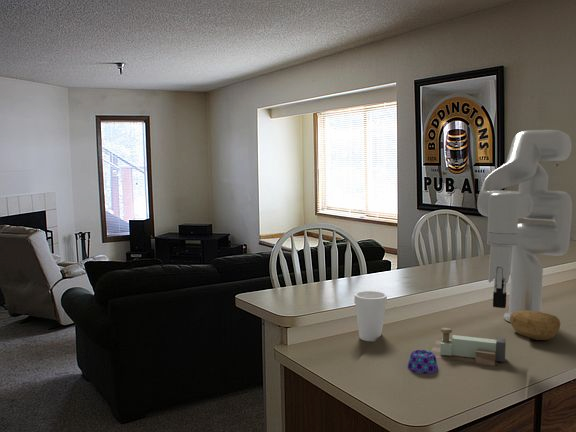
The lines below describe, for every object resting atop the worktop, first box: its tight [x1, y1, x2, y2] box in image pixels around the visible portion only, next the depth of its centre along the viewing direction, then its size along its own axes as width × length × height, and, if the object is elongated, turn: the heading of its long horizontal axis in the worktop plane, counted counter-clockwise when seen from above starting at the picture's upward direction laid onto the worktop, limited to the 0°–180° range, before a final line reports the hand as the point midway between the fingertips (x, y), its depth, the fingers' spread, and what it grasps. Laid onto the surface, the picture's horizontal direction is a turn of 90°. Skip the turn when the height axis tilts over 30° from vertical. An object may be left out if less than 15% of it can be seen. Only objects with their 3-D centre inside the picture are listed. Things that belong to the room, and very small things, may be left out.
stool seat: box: [430, 327, 499, 367], centre depth 151 cm, size 16×17×8 cm
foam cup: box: [354, 290, 388, 342], centre depth 166 cm, size 10×9×13 cm
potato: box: [509, 310, 561, 341], centre depth 164 cm, size 10×14×8 cm
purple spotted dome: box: [407, 349, 439, 375], centre depth 140 cm, size 12×12×5 cm
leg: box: [440, 334, 507, 363], centre depth 147 cm, size 16×4×5 cm, turn 68°
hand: (499, 306), depth 151 cm, fingers closed
